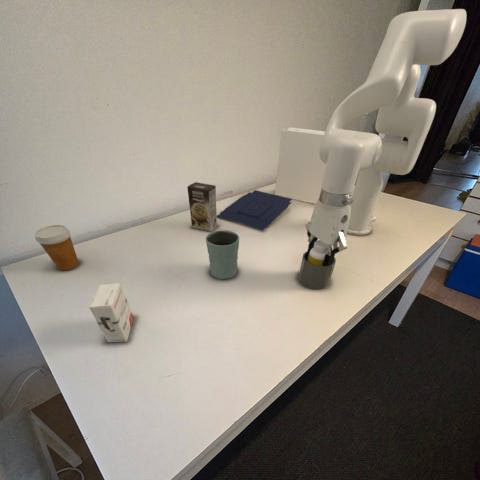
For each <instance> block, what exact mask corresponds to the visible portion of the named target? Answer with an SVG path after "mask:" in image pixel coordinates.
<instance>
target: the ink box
mask: <svg viewBox="0 0 480 480" xmlns="http://www.w3.org/2000/svg"><path fill="white" fill-rule="evenodd" d="M89 309H90V312H91V313H92V316H93V318H94V319H95V321H96V323H97V325H98V327H99V329H100V330H101V332H102V334H103V336H104V338H105V340H106V342H107V343H118V342H119V343H120V342H121V343H122V342H128V339H129V336H130V333H131V329H132V326H133V322H134V315H133V312H132V310H131V307H130V305H129V302H128V299H127V297H126V294H125V292H124V289H123V286H122V284H121V283H120V282H115V283H114V282H113V283H112V282H111V283H100V284H99V286H98V289H97V291H96V292H95V295H94V297H93V299H92V301H91V303H90V306H89Z"/></svg>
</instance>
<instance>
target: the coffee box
mask: <svg viewBox="0 0 480 480" xmlns="http://www.w3.org/2000/svg"><path fill="white" fill-rule="evenodd" d="M216 188H217V186H216V185H215V184H208V183H203V182H197V181H195V182H193V183H191V184H189V185H188V186H187V195H188V204H189V205H188V206H189V212H190V223H191V228H192V229H196V230H201V231H207V232H210V233H211V232H213V231H214V229H216V228H217V227H218V217H217V216H218V213H217V189H216Z"/></svg>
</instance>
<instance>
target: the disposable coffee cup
mask: <svg viewBox="0 0 480 480" xmlns="http://www.w3.org/2000/svg"><path fill="white" fill-rule="evenodd" d="M34 240H35V241H36V242H37V243H38V244H39V245H40V246H41V247H42V249H43V250H44V252H45V253H46V254H47V255H48V256H49V258H50V259H51V261H52V262H53V263H54V264H55V266H56V267H57V269H58V270H60V271H69V270H74V269H75V268H76V267H78V266H79V263H80V262H79V259H78V256H77V252H76V249H75V246H74V243H73V240H72V237H71V231H70V230H69V229H68V228H67V227H66V226H65V225H63V224H62V225H61V224H52V225H51V224H50V225H46V226H44V227H41V228H39V229H37V230H36V231H35V232H34Z"/></svg>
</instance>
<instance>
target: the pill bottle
mask: <svg viewBox="0 0 480 480" xmlns="http://www.w3.org/2000/svg"><path fill="white" fill-rule="evenodd" d="M325 254H327V244H326V243H324V242H323V241H321V240H320V239H318V240H317V241H316V242H315V243H314V248H312V249H311V250H310V253H309V257H308V262H309V263H311V264H313V265H317V266H323V261H324V257H325Z"/></svg>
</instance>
